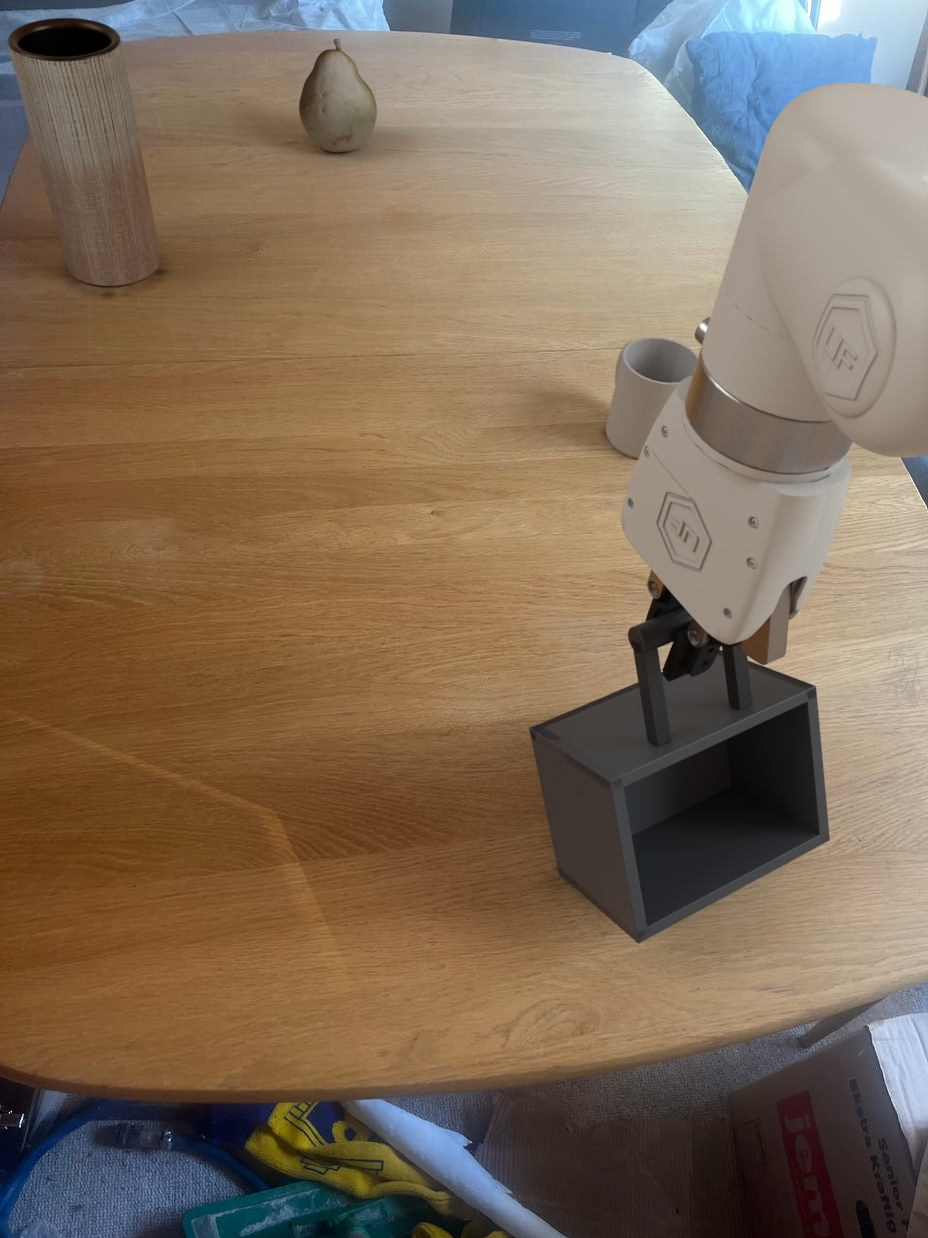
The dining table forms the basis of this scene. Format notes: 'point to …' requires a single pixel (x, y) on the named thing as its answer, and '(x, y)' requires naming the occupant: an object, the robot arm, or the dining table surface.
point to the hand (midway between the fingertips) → (673, 653)
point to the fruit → (337, 103)
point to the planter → (87, 147)
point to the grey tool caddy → (682, 784)
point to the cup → (644, 388)
